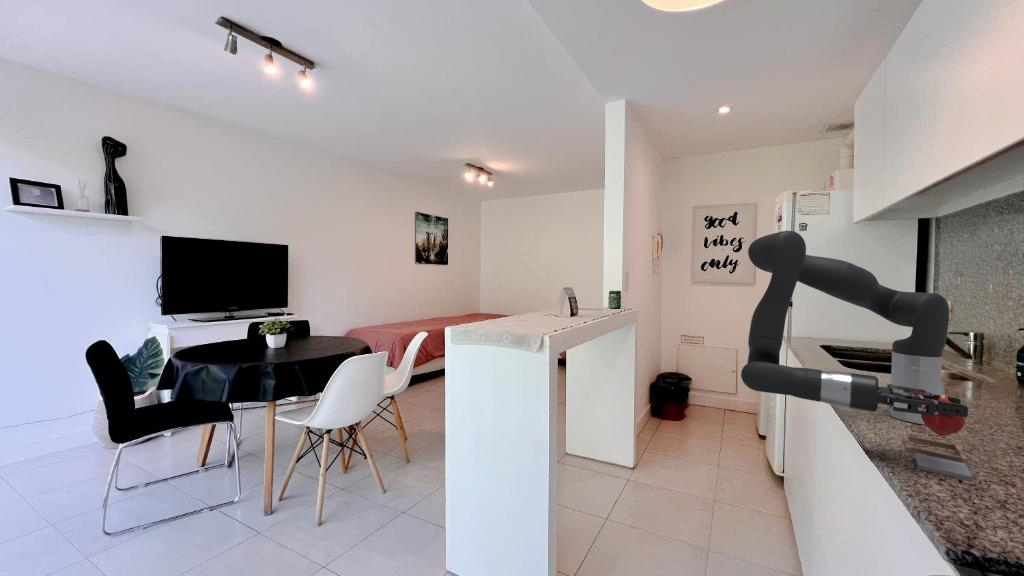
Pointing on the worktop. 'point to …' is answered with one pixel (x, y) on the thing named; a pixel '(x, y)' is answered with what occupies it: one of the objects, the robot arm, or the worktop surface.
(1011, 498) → the worktop surface
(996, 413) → the worktop surface
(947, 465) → the coaster
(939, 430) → the onion
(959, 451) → the square wooden frame
